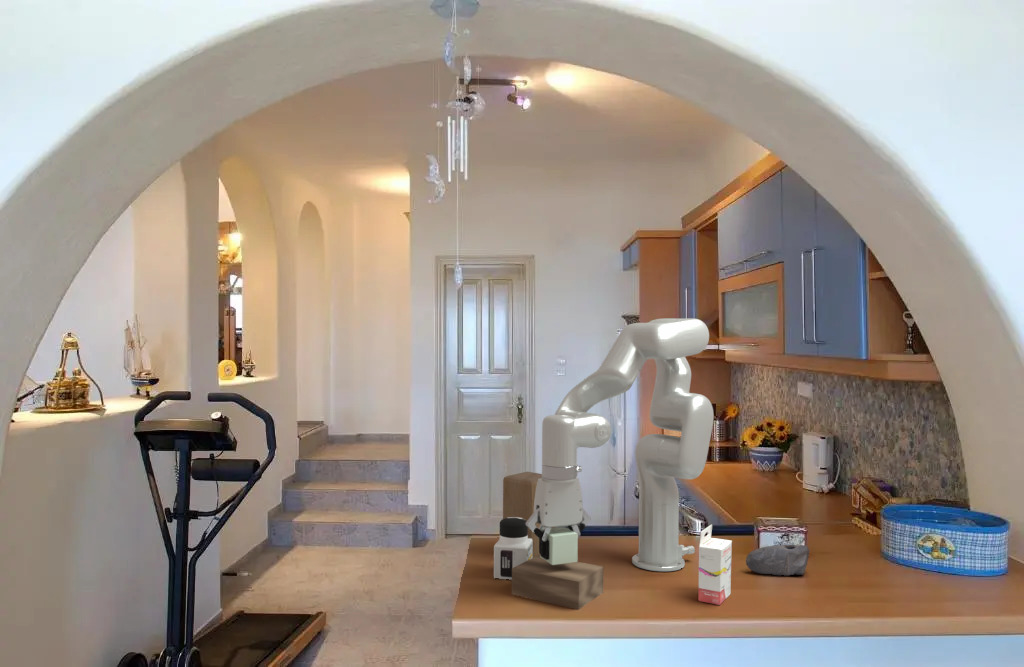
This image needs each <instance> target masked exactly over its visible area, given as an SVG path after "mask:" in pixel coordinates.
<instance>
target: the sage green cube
mask: <svg viewBox="0 0 1024 667" xmlns="http://www.w3.org/2000/svg"><path fill="white" fill-rule="evenodd" d="M548 541H549V559H547V560H546V559H544V558H543V557H541V555H540V557H541V558H542V559H544V560H545V561H547V562H549V563H550V564H552V565H556V564H564V563H572V562H579V561H578V559H579V558H578V550H579V537H578V534H577V533H575V532H573V531H572V530H570V529H568V527H567V526H560V527H555V528H551V530H550V533H549V535H548Z"/></svg>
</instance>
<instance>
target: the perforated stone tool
mask: <svg viewBox="0 0 1024 667" xmlns="http://www.w3.org/2000/svg"><path fill="white" fill-rule="evenodd" d="M809 555H810V547H808V545H806V544H805V545H803V544H798V545H797V544H778V545H769V546H763V547H759V548H755V549H754V550H752V551H750V552H749V553H748V554H747V555H746V558H745V563H746V564H745V565H746V566H747V568H748V569H749V570H750V571H752V572H754V573H757V574H762V575H771V574H772V576H781V575H784V577H788V576H791V575H796V576H800V575H801V576H802V575H804V574H805V572H806V570H807V565H808V561H809V558H810V556H809Z"/></svg>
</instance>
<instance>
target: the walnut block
mask: <svg viewBox="0 0 1024 667" xmlns="http://www.w3.org/2000/svg"><path fill="white" fill-rule="evenodd" d="M603 593H604V566H603V565H599V564H598V565H597V564H591V563H588V562H580V561H578V562H572V563H564V564H556V565H552V564H550V563H549V562H547V561H545V560H544V559H542V558H541V557H540V555H538V556H536V557H534V558H532V559H530V560H528V561H526V562H524V563H522V564H520V565H518V566H516V567H514V568H512V580H511V595H512V594H513V595H512V596H515V595H518V596H517V597H519V596H522V597H521V598H524V597H527V598H526V599H528V598H531V599H530V600H533V599H535V600H534V601H537V600H538V602H542V601H543V602H542V603H546V602H547V603H548V604H552V605H554V606H555V605H556V606H560V607H565V608H570V609H573V610H577V611H578V610H581V609H582V608H583V607H584V606H586V605H588V604H589V603H590V602H592V601H593V600H595V599H596V598H597V597H599V596H601V595H602V594H603Z"/></svg>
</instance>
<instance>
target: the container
mask: <svg viewBox="0 0 1024 667" xmlns="http://www.w3.org/2000/svg"><path fill="white" fill-rule="evenodd" d="M526 522H527V521H526V520H525V519H523V518H519V517H508V518H505V519H503V518H502V519H501V520H500V522H499V539H498V541H497V542H496V543H495V544H494V546H493V579H495V578H499V579H498V580H506V579H509V580H508V581H512V568H514V567H516V566H518V565H520V564H522V563H524V562H526V561H528V560H530V559H532V544H533V540H532V539H530V538H528V527H527V526H526Z"/></svg>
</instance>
